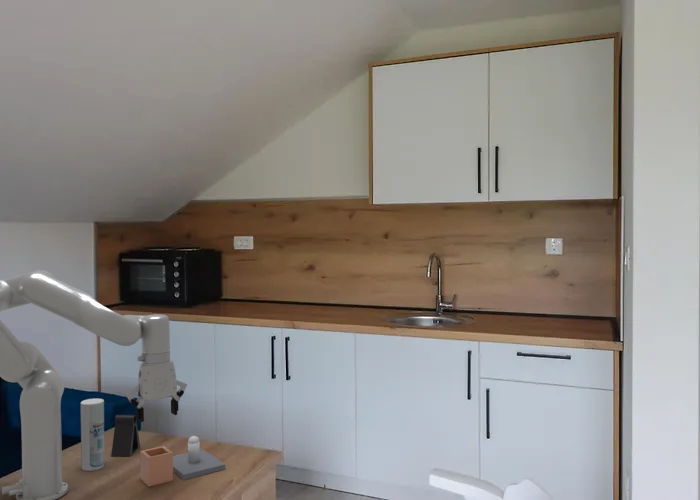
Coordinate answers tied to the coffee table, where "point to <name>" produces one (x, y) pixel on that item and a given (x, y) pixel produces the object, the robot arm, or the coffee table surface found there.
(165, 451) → the sleeve
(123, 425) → the phone stand
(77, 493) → the coffee table surface
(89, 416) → the spray can
